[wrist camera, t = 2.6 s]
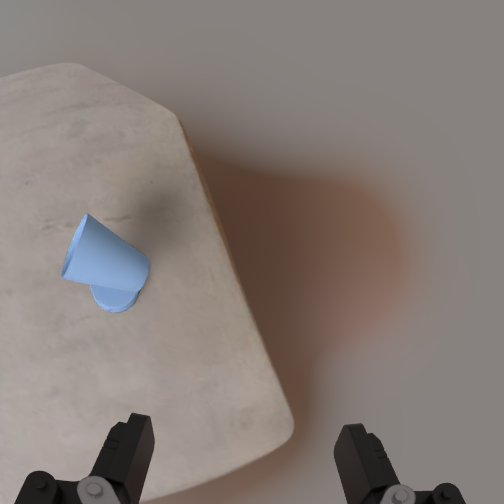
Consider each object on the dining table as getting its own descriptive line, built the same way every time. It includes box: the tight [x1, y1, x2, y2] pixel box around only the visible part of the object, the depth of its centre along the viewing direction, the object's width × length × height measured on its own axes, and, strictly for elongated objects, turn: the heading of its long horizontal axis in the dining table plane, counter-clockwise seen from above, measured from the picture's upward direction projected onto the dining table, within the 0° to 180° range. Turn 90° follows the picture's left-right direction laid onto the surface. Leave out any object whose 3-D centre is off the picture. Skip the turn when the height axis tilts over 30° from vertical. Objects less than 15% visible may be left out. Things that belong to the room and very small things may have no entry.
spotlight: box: [61, 213, 150, 312], centre depth 21 cm, size 5×10×7 cm
